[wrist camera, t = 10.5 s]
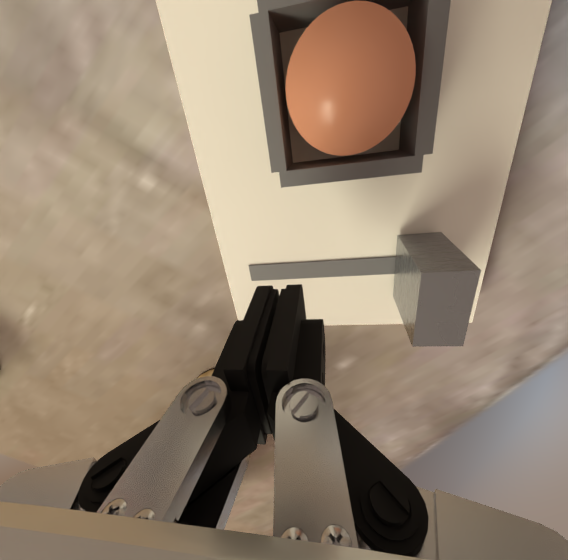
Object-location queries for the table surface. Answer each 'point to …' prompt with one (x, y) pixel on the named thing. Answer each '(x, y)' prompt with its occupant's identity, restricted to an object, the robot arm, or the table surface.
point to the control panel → (359, 167)
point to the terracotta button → (350, 78)
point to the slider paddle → (434, 289)
